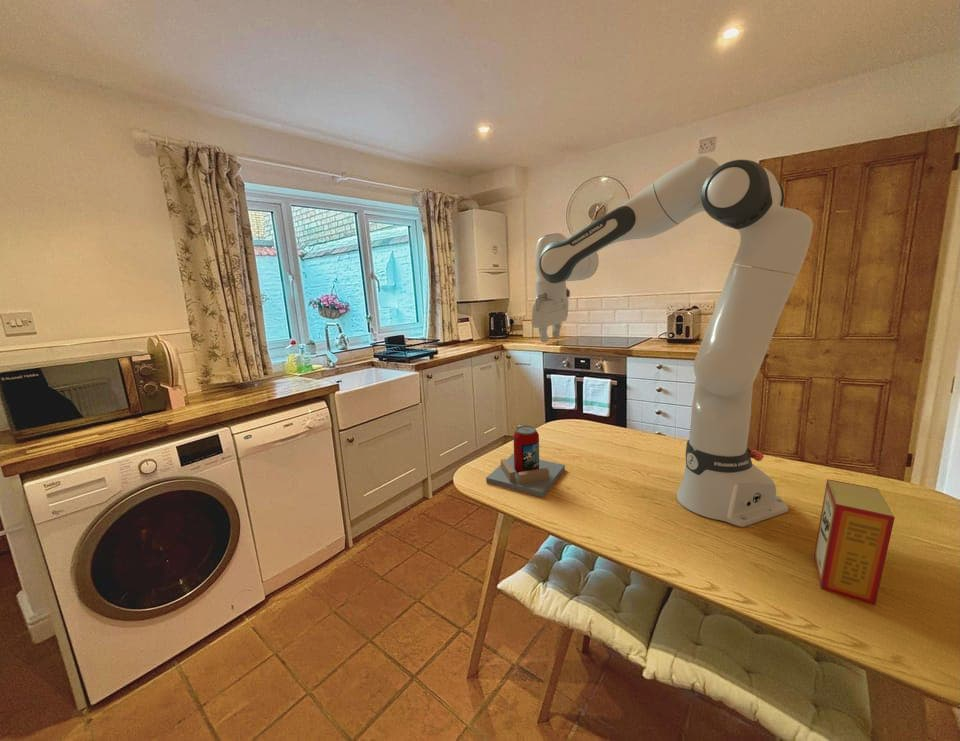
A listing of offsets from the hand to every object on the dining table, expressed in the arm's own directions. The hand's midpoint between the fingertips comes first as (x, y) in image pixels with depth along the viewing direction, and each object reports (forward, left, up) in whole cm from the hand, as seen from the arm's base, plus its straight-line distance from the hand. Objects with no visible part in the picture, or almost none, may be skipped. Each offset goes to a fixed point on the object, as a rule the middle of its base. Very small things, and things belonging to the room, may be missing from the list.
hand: (550, 339), depth 118 cm
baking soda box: (-30, +65, -34) cm, 79 cm away
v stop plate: (+13, +18, -34) cm, 41 cm away
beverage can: (+13, +18, -33) cm, 39 cm away
